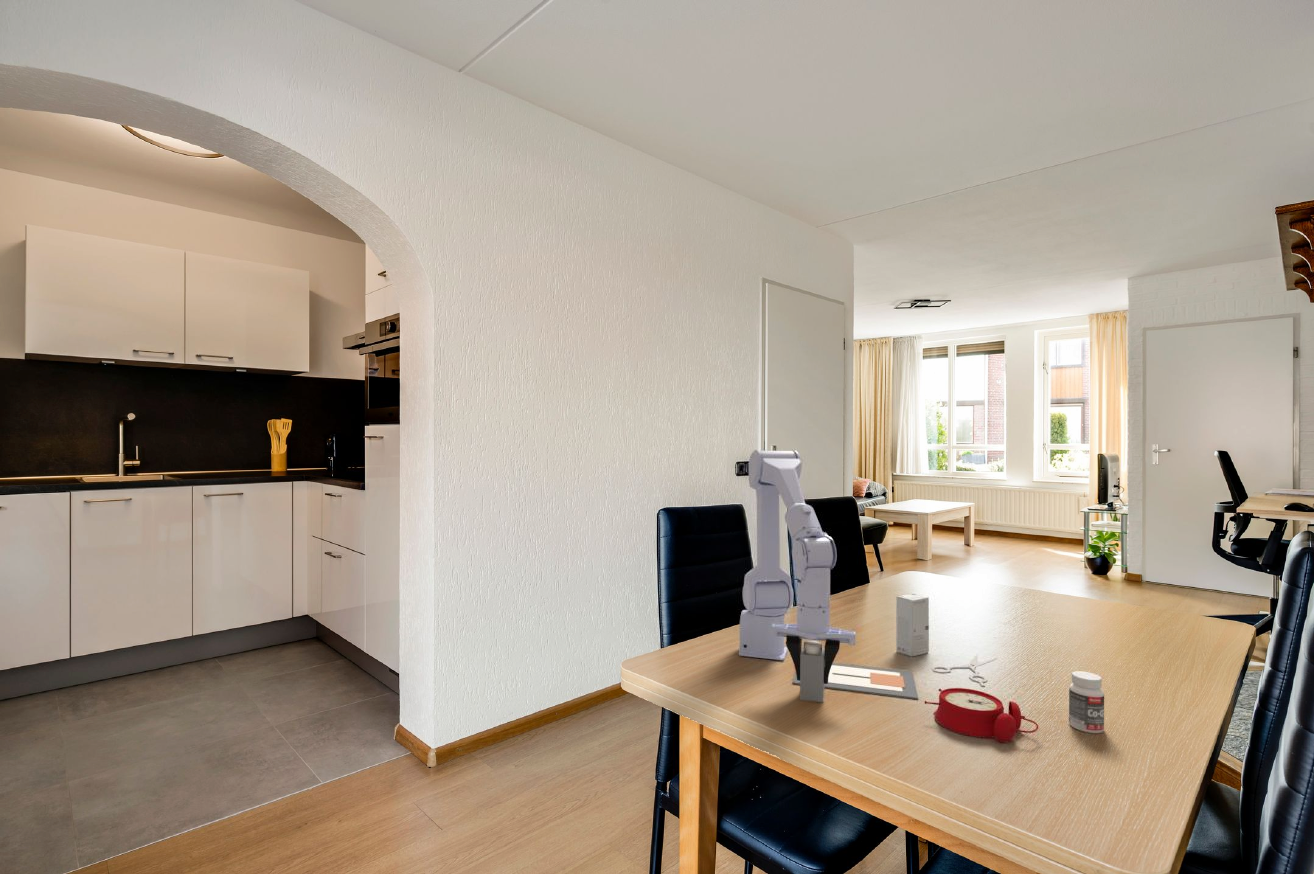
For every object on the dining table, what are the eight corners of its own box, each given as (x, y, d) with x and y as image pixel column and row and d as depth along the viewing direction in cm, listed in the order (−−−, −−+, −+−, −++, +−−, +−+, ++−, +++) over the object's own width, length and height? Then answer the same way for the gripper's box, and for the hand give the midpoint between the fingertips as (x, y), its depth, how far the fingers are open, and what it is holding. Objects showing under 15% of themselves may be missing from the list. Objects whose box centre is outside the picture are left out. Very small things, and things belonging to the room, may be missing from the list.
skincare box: (912, 657, 137) (913, 600, 137) (894, 651, 140) (895, 596, 141) (930, 652, 140) (930, 597, 140) (912, 646, 144) (912, 592, 144)
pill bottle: (1091, 736, 100) (1092, 682, 100) (1062, 723, 105) (1062, 672, 105) (1110, 730, 102) (1111, 678, 102) (1081, 719, 107) (1081, 668, 107)
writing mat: (792, 683, 121) (792, 681, 121) (799, 660, 134) (799, 657, 134) (918, 699, 114) (918, 696, 114) (912, 672, 127) (912, 670, 127)
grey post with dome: (799, 699, 113) (800, 645, 113) (801, 691, 117) (802, 639, 117) (823, 702, 112) (823, 648, 112) (824, 694, 116) (825, 641, 116)
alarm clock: (939, 682, 113) (1036, 684, 103) (947, 720, 112) (1046, 726, 102) (918, 700, 105) (1022, 704, 95) (927, 741, 104) (1033, 749, 94)
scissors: (927, 671, 128) (962, 647, 142) (927, 674, 128) (962, 651, 142) (984, 685, 120) (1015, 659, 135) (984, 689, 120) (1015, 663, 135)
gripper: (769, 605, 113) (768, 682, 113) (855, 613, 109) (854, 693, 109) (774, 596, 120) (773, 669, 120) (855, 603, 116) (855, 679, 115)
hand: (812, 680), depth 115 cm, fingers closed on grey post with dome, 4 cm apart
